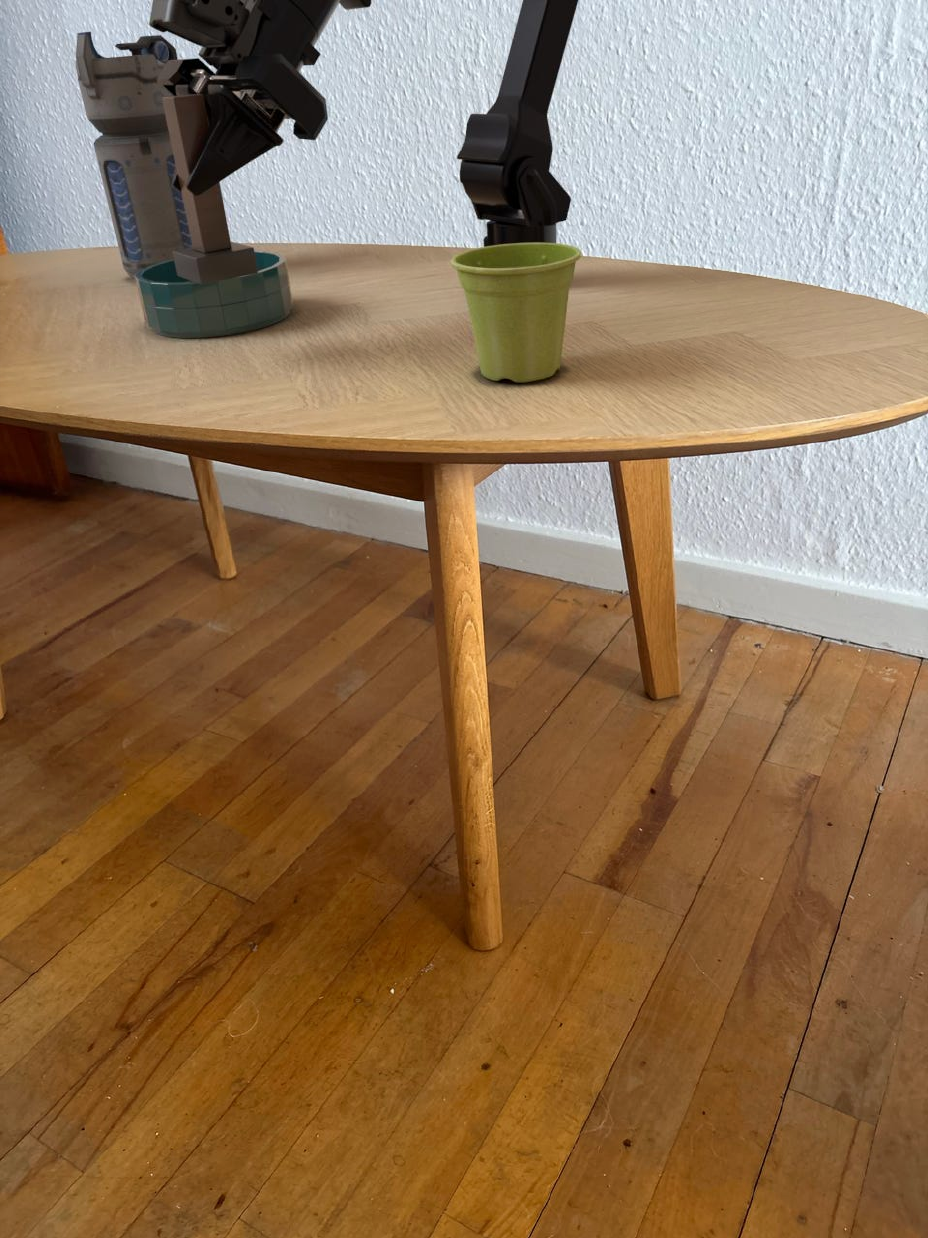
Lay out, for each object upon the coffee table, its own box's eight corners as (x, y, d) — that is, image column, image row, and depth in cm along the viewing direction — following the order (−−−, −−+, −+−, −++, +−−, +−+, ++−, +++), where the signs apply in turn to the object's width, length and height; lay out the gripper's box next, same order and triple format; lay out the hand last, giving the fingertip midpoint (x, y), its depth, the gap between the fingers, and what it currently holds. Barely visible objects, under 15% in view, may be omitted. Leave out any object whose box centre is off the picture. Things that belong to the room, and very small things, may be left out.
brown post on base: (232, 264, 82) (199, 92, 75) (258, 272, 79) (226, 92, 72) (177, 276, 80) (138, 98, 73) (201, 284, 76) (163, 99, 69)
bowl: (321, 304, 97) (314, 252, 94) (230, 344, 87) (219, 286, 84) (214, 296, 103) (204, 247, 100) (116, 333, 93) (103, 279, 90)
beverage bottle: (243, 262, 118) (200, 24, 105) (166, 287, 109) (108, 29, 95) (182, 259, 123) (134, 30, 110) (103, 283, 113) (40, 35, 100)
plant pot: (441, 367, 76) (431, 253, 72) (546, 346, 79) (543, 235, 75) (490, 400, 69) (483, 275, 64) (604, 376, 72) (605, 254, 67)
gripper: (153, -60, 75) (53, 114, 76) (260, -91, 62) (138, 120, 63) (261, 49, 83) (171, 205, 84) (376, 41, 70) (268, 227, 71)
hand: (184, 190), depth 75 cm, fingers closed on brown post on base, 2 cm apart
